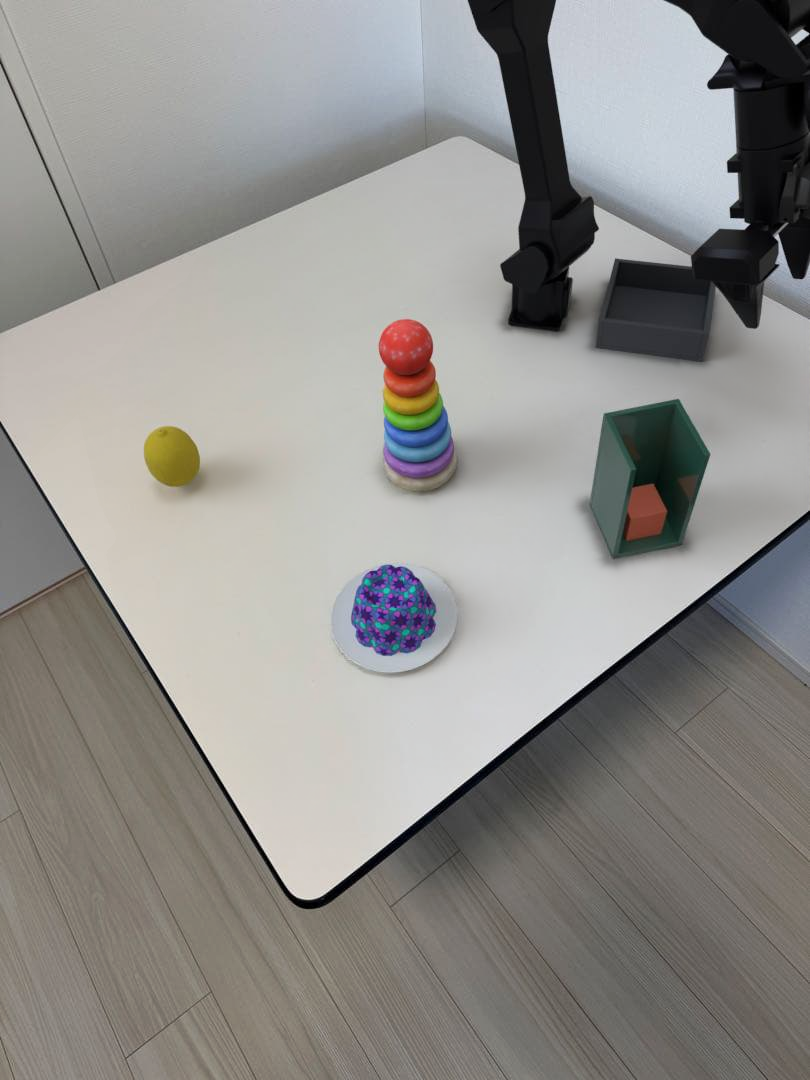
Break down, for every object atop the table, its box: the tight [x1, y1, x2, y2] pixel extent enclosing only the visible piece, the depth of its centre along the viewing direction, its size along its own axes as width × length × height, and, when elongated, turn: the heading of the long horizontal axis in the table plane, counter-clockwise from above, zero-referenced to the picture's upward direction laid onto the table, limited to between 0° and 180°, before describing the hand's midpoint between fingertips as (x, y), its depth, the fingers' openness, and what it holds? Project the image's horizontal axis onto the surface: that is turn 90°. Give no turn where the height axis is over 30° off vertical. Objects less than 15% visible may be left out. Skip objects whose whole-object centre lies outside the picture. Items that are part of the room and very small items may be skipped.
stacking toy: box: [378, 318, 458, 493], centre depth 81 cm, size 8×8×19 cm
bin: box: [595, 258, 717, 362], centre depth 98 cm, size 12×12×4 cm
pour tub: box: [589, 398, 711, 560], centre depth 76 cm, size 7×7×13 cm
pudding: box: [329, 562, 459, 674], centre depth 75 cm, size 12×12×5 cm
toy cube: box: [622, 484, 667, 541], centre depth 79 cm, size 4×4×4 cm
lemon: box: [143, 425, 201, 488], centre depth 87 cm, size 6×6×8 cm
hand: (776, 302), depth 79 cm, fingers open, 9 cm apart
